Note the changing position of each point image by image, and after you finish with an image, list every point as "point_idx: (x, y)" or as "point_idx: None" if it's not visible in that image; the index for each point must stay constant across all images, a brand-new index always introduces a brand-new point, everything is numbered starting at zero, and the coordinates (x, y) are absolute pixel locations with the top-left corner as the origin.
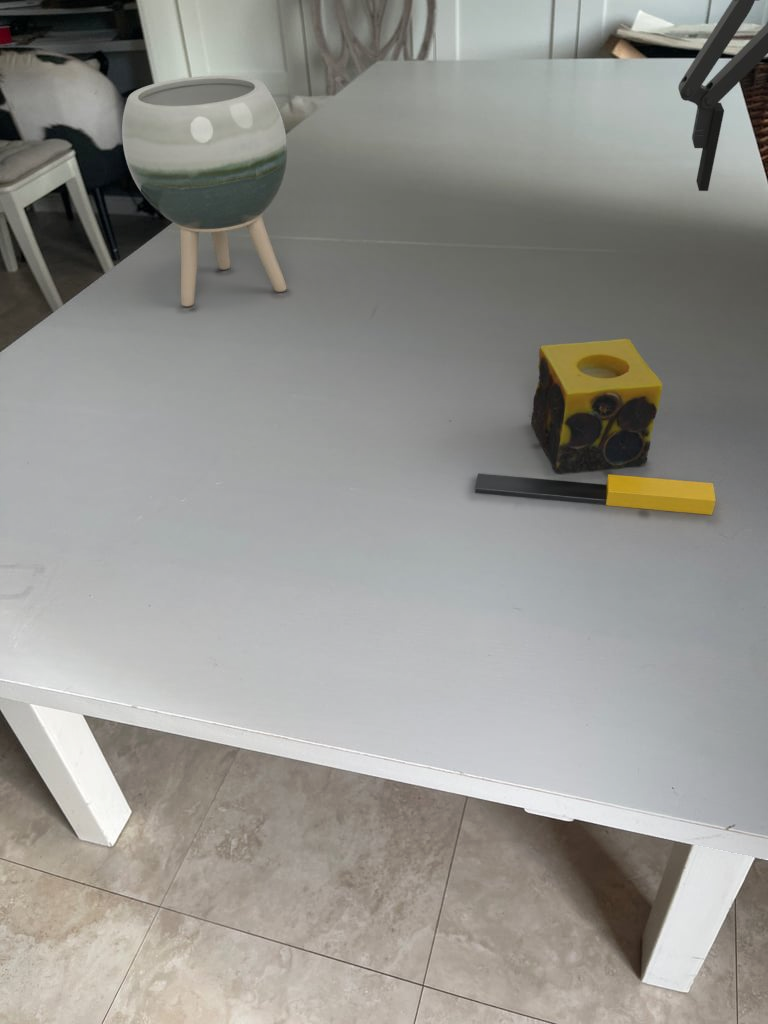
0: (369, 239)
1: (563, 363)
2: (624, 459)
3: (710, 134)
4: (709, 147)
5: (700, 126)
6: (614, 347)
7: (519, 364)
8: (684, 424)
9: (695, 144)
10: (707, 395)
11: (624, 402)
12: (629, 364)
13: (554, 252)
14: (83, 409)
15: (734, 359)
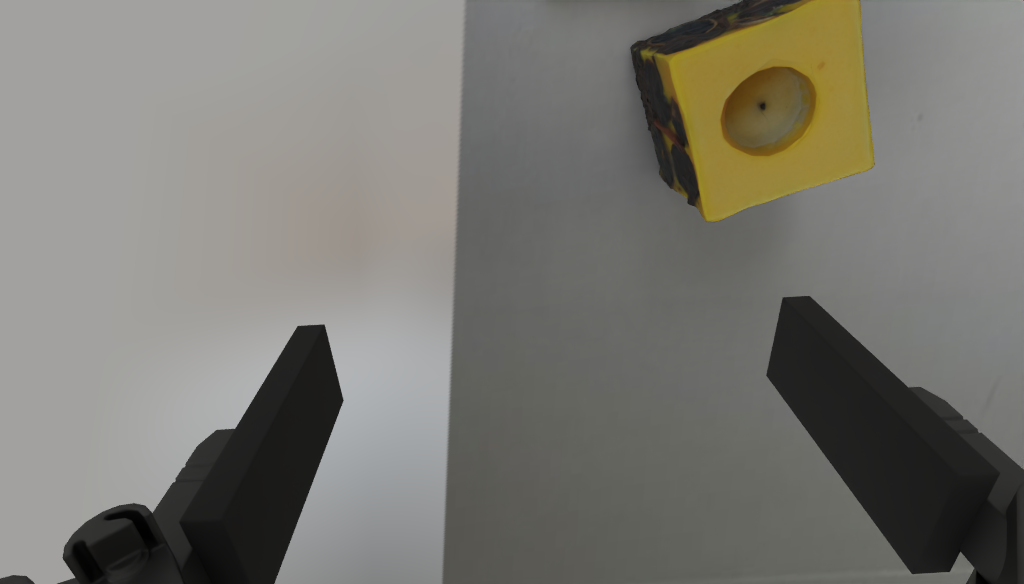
0: (964, 574)
1: (842, 107)
2: (669, 33)
3: (923, 404)
4: (886, 373)
5: (973, 440)
6: (737, 186)
7: (789, 294)
8: (562, 176)
9: (927, 396)
10: (525, 259)
11: (725, 32)
12: (718, 129)
13: (706, 574)
14: None
15: (484, 356)
